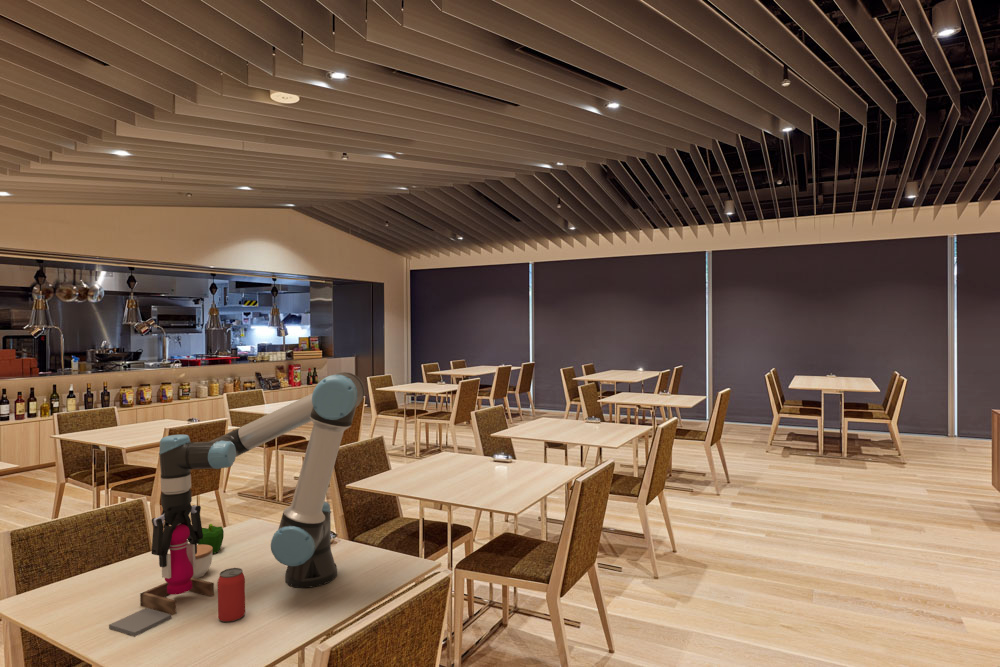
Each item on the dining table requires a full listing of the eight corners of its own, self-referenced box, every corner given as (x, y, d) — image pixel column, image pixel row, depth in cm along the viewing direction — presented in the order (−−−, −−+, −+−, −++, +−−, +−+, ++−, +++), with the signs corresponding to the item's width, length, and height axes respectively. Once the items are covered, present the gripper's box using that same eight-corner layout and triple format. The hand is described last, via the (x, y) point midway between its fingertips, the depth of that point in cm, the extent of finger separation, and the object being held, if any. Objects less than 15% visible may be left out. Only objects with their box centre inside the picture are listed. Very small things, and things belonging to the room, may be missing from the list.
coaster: (171, 618, 158) (171, 614, 158) (134, 636, 149) (134, 632, 149) (146, 611, 163) (146, 607, 162) (109, 628, 153) (109, 624, 153)
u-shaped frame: (213, 595, 172) (213, 582, 172) (172, 615, 160) (172, 601, 160) (182, 587, 178) (182, 575, 178) (140, 606, 166) (140, 593, 166)
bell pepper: (200, 548, 209) (199, 520, 209) (225, 546, 211) (225, 518, 211) (194, 557, 201) (193, 527, 201) (220, 555, 203) (220, 525, 203)
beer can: (228, 625, 154) (227, 579, 154) (212, 619, 158) (212, 573, 158) (250, 614, 160) (250, 570, 160) (235, 608, 164) (234, 565, 163)
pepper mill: (200, 586, 171) (197, 516, 171) (179, 597, 164) (176, 524, 164) (180, 583, 174) (178, 514, 173) (158, 594, 167) (156, 522, 166)
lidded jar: (220, 568, 191) (219, 539, 191) (199, 583, 180) (199, 552, 180) (188, 567, 192) (187, 538, 192) (166, 582, 181) (166, 551, 181)
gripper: (197, 480, 179) (200, 557, 180) (133, 499, 161) (136, 584, 161) (215, 483, 176) (218, 560, 176) (152, 501, 158) (155, 588, 158)
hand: (179, 571), depth 169 cm, fingers closed on pepper mill, 7 cm apart
